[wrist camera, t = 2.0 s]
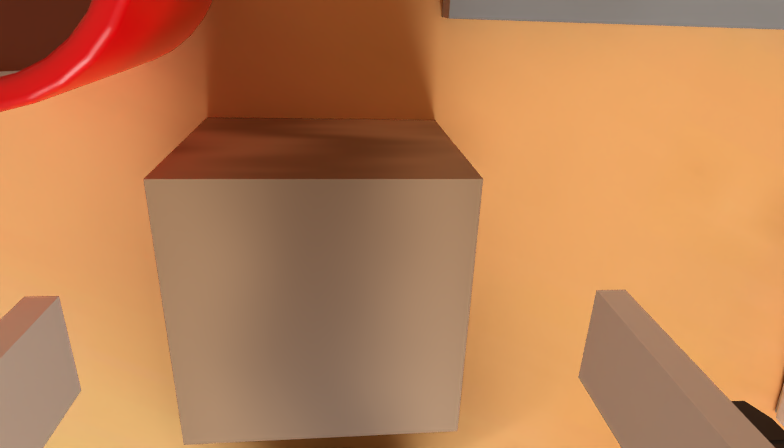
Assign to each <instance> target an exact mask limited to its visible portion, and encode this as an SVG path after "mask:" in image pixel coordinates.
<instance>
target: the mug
mask: <svg viewBox="0 0 784 448" xmlns="http://www.w3.org/2000/svg"><path fill="white" fill-rule="evenodd" d="M211 3H212V0H0V112H2V111H6V110H10V109H13V108H17V107H21V106H25V105H29V104H33V103H36V102H39V101H42V100H45V99H48V98H50V97H53V96H56V95H59V94H61V93H64V92H67V91H70V90H72V89H75V88H78V87H81V86H83V85H86V84H89V83H92V82H95V81H97V80H100V79H103V78H106V77H108V76H111V75H114V74H117V73H119V72H122V71H125V70H128V69H130V68H133V67H136V66H139V65H141V64H144V63H147V62H150V61H153V60H155V59H156V58H158V57H160V56H162V55H164V54H166V53H168V52H170V51H172V50H174V49H175V48H176V47H177V46H179V45H180V44H181V43H182V42H183V41H185V40H186V39H187V38H188V37H189V36H191V34H192V33H193V32H194V30H195V29H196V28H197V27H198V25H199V24H200V23H201V21H202V20H203V19H204V17H205V15H206V13H207V11H208V9H209V7H210V5H211Z"/></svg>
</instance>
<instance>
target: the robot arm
mask: <svg viewBox="0 0 784 448" xmlns="http://www.w3.org/2000/svg"><path fill="white" fill-rule="evenodd" d="M579 379H580V380H581V382H582V384H583V385H584V387H585V389H586V390H587V392H588V394H589V395H590V397H591V398H592V400H593V402H594V403H595V405H596V407H597V408H598V410H599V412H600V413H601V415H602V417H603V418H604V420H605V421H606V423H607V425H608V426H609V428H610V430H611V431H612V433H613V435H614V436H615V438H616V439H617V441H618V443H619V444H620V446H621V448H784V430H783V429H782V428H781V427H780V426H779V425H778V424H777V423H776V422H775V421H774V420H773V419H772V418H770V417H769V416H767V415H765V414H764V413H762V412H761V411H759V410H758V409H756V408H755V407H753V406H752V405H750V404H748V403H747V402H745V401H730V400H729V399H728V398H727V397H726V395H725V394H724V393H723V392H722V391H721V390H720V389H719V388H718V387H717V386H716V385H715V384H714V383H713V382H712V381H711V380H710V379H709V378H708V377H707V375H706V374H705V373H704V372H703V371H702V370H701V369H700V368H699V367H698V366H697V365H696V364H695V363H694V362H693V361H692V360H691V359H690V358H689V356H688V355H687V354H686V353H685V352H684V351H683V350H682V349H681V348H680V347H679V346H678V345H677V344H676V343H675V342H674V341H673V340H672V339H671V337H670V336H669V335H668V334H667V333H666V332H665V331H664V330H663V329H662V328H661V327H660V326H659V325H658V324H657V323H656V322H655V321H654V320H653V319H652V317H651V316H650V315H649V314H648V313H647V312H646V311H645V310H644V309H643V308H642V307H641V306H640V305H639V304H638V303H637V302H636V301H635V300H634V298H633V297H632V296H631V295H630V294H629V293H628V292H627V291H626V290H597V291H596V296H595V300H594V305H593V310H592V315H591V319H590V324H589V329H588V334H587V339H586V343H585V348H584V353H583V358H582V363H581V367H580V372H579ZM80 391H81V387H80V383H79V379H78V375H77V370H76V366H75V362H74V358H73V353H72V349H71V345H70V341H69V337H68V332H67V328H66V324H65V320H64V316H63V311H62V307H61V303H60V299H59V296H42V297H24V298H23V299H22V300H20V301H19V302H18V303H17V304H16V305H15V306H14V307H13V308H12V309H11V310H10V311H9V312H8V313H7V314H6V315H5V316H4V317H3V318H2V319H0V448H43V447H44V446H45V444H46V443H47V441H48V440H49V438H50V437H51V435H52V434H53V432H54V431H55V429H56V428H57V426H58V424H59V423H60V421H61V420H62V418H63V417H64V415H65V414H66V412H67V411H68V409H69V408H70V406H71V405H72V403H73V402H74V400H75V399H76V397H77V396H78V394H79V393H80Z"/></svg>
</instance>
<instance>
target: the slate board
mask: <svg viewBox="0 0 784 448" xmlns="http://www.w3.org/2000/svg"><path fill="white" fill-rule="evenodd" d="M442 17H445V18H454V19H484V20H514V21H544V22H574V23H604V24H634V25H665V26H695V27H725V28H755V29H784V0H443V6H442Z"/></svg>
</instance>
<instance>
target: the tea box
mask: <svg viewBox="0 0 784 448" xmlns="http://www.w3.org/2000/svg"><path fill="white" fill-rule="evenodd" d="M775 412H776V418H777V420H778V421H779V422H780V423H781V424H782V425H783V426H784V384H783V388H782V391H781V394H780V397H779V400H778V403H777V407H776V410H775Z"/></svg>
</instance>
